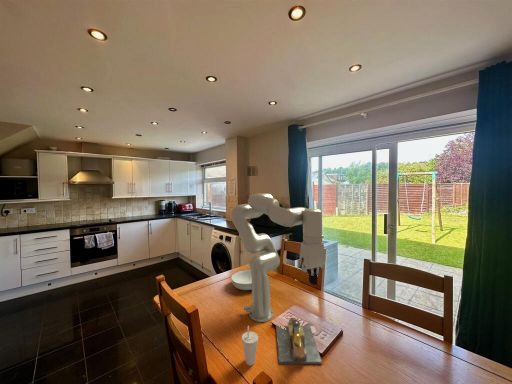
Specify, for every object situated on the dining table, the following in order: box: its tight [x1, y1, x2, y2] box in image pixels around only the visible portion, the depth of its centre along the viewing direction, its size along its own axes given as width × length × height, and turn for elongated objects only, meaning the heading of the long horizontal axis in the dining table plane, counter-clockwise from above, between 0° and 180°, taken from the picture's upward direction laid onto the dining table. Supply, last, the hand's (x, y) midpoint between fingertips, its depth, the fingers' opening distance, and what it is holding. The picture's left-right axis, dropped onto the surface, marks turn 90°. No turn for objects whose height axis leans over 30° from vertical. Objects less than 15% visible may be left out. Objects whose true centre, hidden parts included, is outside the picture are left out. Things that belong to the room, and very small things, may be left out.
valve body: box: [275, 317, 323, 365], centre depth 89 cm, size 16×20×6 cm
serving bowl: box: [230, 269, 252, 291], centre depth 140 cm, size 21×21×7 cm
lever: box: [292, 319, 301, 347], centre depth 84 cm, size 12×3×5 cm, turn 172°
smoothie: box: [241, 325, 259, 366], centre depth 80 cm, size 6×6×14 cm
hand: (313, 283), depth 86 cm, fingers closed
